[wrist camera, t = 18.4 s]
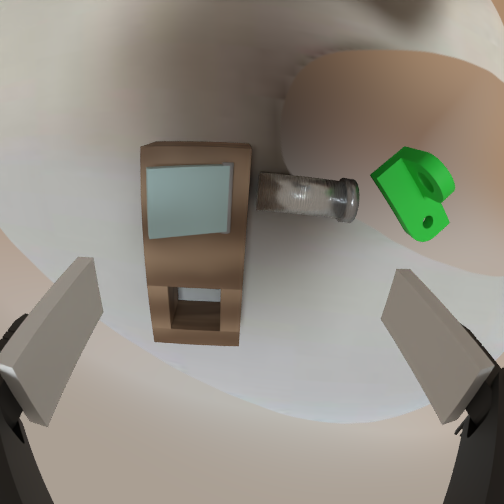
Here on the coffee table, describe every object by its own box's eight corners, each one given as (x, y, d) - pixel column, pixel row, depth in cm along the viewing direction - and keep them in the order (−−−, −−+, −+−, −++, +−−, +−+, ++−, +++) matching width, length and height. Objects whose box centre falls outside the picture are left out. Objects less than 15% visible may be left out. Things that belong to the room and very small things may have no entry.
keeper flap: (231, 162, 27) (146, 164, 24) (235, 163, 26) (147, 166, 23) (228, 229, 29) (148, 237, 26) (231, 233, 28) (149, 241, 25)
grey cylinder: (261, 174, 29) (362, 186, 29) (259, 164, 33) (348, 174, 33) (256, 221, 31) (353, 230, 31) (255, 205, 35) (341, 213, 36)
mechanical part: (369, 174, 34) (402, 191, 27) (404, 146, 33) (442, 156, 25) (411, 244, 38) (443, 271, 31) (441, 217, 37) (476, 239, 30)
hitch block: (156, 141, 31) (140, 146, 25) (248, 143, 32) (251, 148, 26) (163, 312, 40) (154, 341, 34) (237, 316, 41) (238, 346, 35)
